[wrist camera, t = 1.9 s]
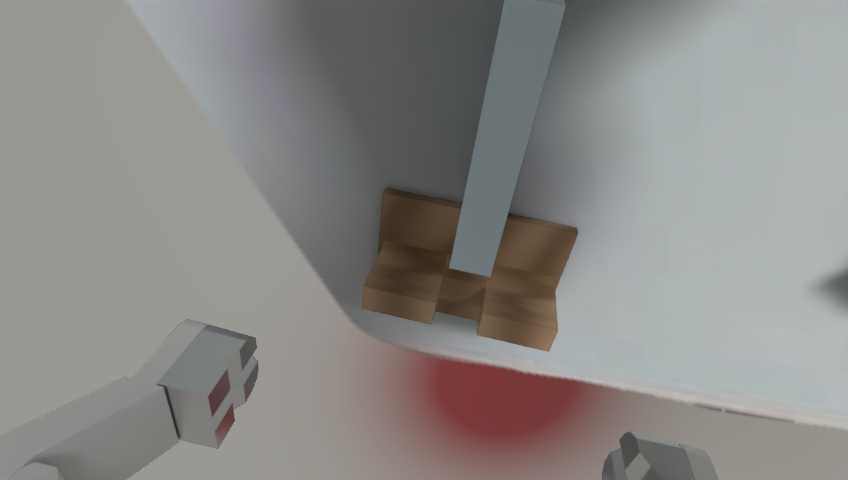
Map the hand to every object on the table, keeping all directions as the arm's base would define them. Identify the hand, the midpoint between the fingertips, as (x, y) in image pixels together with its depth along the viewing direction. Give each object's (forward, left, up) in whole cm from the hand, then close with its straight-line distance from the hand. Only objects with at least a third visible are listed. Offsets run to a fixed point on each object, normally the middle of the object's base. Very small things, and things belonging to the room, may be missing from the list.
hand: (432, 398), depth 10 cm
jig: (-1, +15, -24) cm, 28 cm away
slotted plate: (-1, +1, -24) cm, 24 cm away
